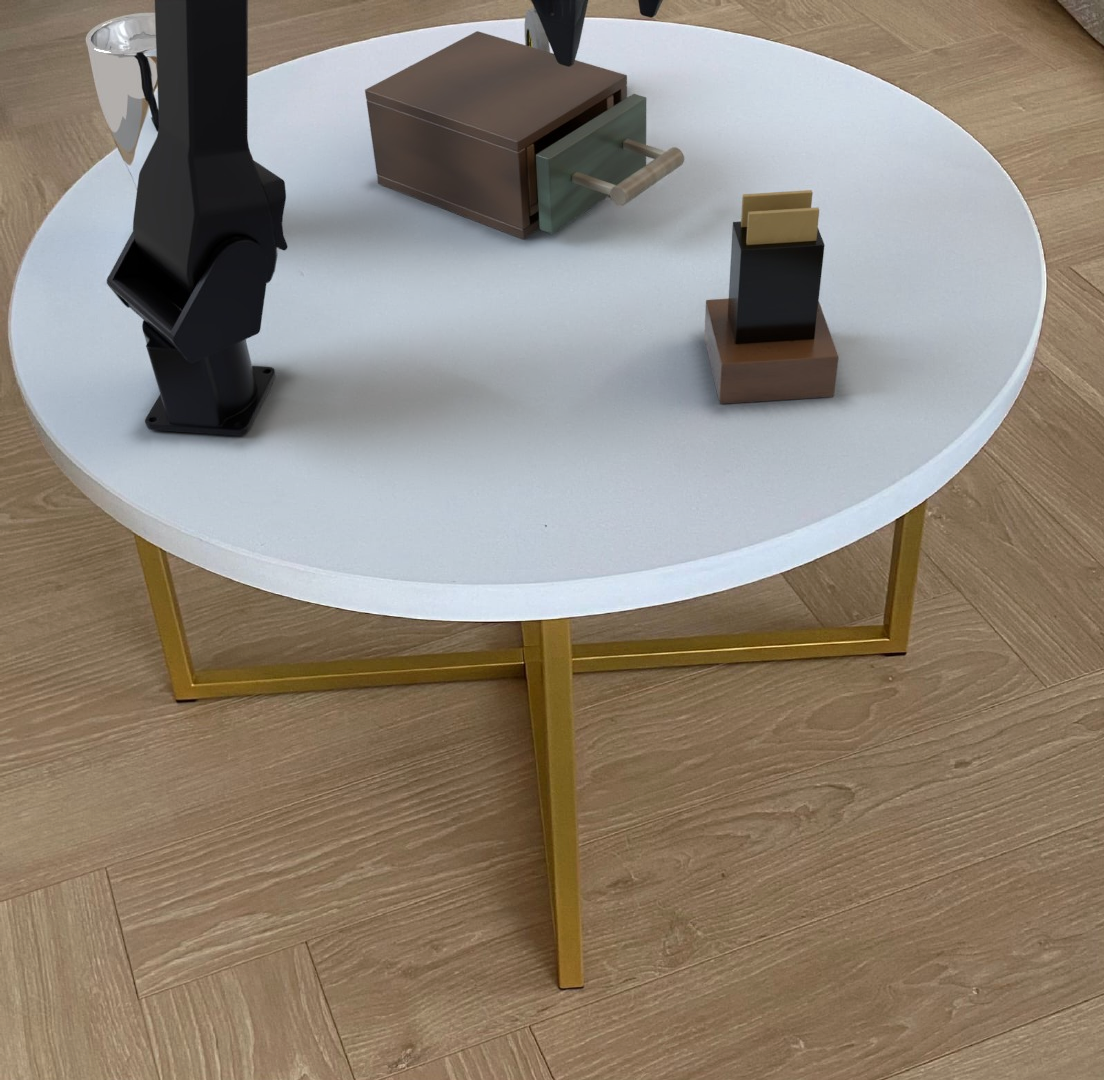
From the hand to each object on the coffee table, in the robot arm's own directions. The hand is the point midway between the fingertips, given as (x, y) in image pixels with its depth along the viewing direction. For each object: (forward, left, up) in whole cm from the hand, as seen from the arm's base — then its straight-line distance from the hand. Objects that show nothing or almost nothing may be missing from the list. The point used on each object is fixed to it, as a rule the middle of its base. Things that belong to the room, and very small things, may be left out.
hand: (607, 39), depth 91 cm
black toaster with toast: (-18, -12, -10) cm, 24 cm away
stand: (-18, -12, -13) cm, 25 cm away
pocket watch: (+19, +6, -13) cm, 24 cm away
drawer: (+3, +4, -12) cm, 13 cm away
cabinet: (+5, +9, -13) cm, 17 cm away
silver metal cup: (-5, +31, -13) cm, 34 cm away
